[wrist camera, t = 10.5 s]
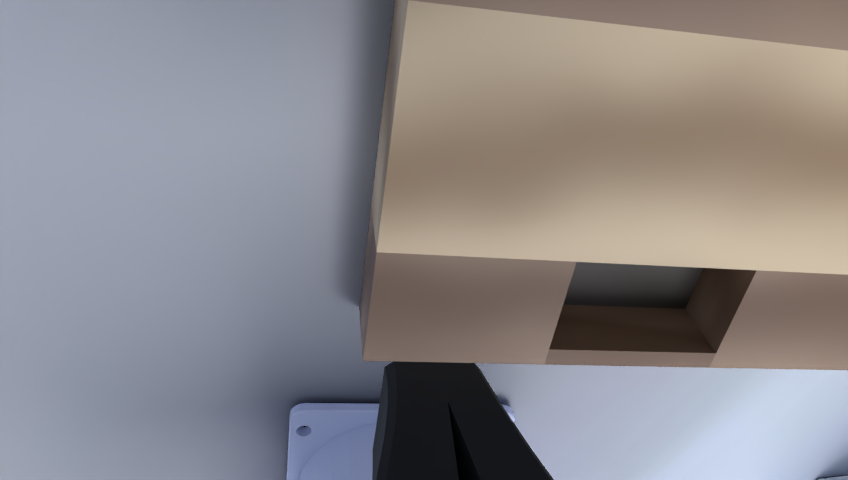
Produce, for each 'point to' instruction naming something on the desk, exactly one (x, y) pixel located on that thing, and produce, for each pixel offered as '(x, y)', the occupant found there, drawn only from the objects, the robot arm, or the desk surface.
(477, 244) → the trap board
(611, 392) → the desk surface
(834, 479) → the syrup box
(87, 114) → the desk surface
